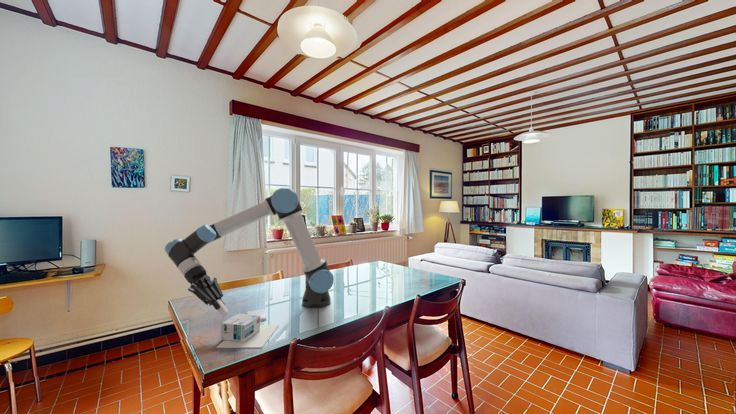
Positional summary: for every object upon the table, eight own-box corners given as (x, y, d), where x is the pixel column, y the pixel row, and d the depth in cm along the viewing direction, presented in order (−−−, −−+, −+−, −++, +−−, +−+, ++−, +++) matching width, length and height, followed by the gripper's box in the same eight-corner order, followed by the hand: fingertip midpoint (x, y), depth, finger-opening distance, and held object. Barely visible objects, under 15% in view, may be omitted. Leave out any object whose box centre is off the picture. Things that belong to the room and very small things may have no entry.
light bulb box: (219, 339, 108) (244, 343, 106) (220, 322, 108) (244, 325, 106) (238, 328, 119) (260, 331, 116) (238, 312, 119) (261, 315, 116)
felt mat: (278, 325, 122) (278, 325, 122) (262, 347, 103) (262, 347, 103) (240, 325, 122) (240, 325, 122) (216, 347, 103) (216, 347, 103)
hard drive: (247, 311, 136) (247, 320, 125) (264, 308, 139) (266, 317, 128) (247, 314, 136) (247, 324, 125) (264, 312, 139) (266, 321, 128)
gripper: (200, 272, 124) (231, 313, 120) (173, 280, 112) (207, 326, 107) (210, 261, 123) (242, 302, 119) (184, 267, 110) (218, 313, 106)
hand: (225, 313), depth 113 cm, fingers closed
